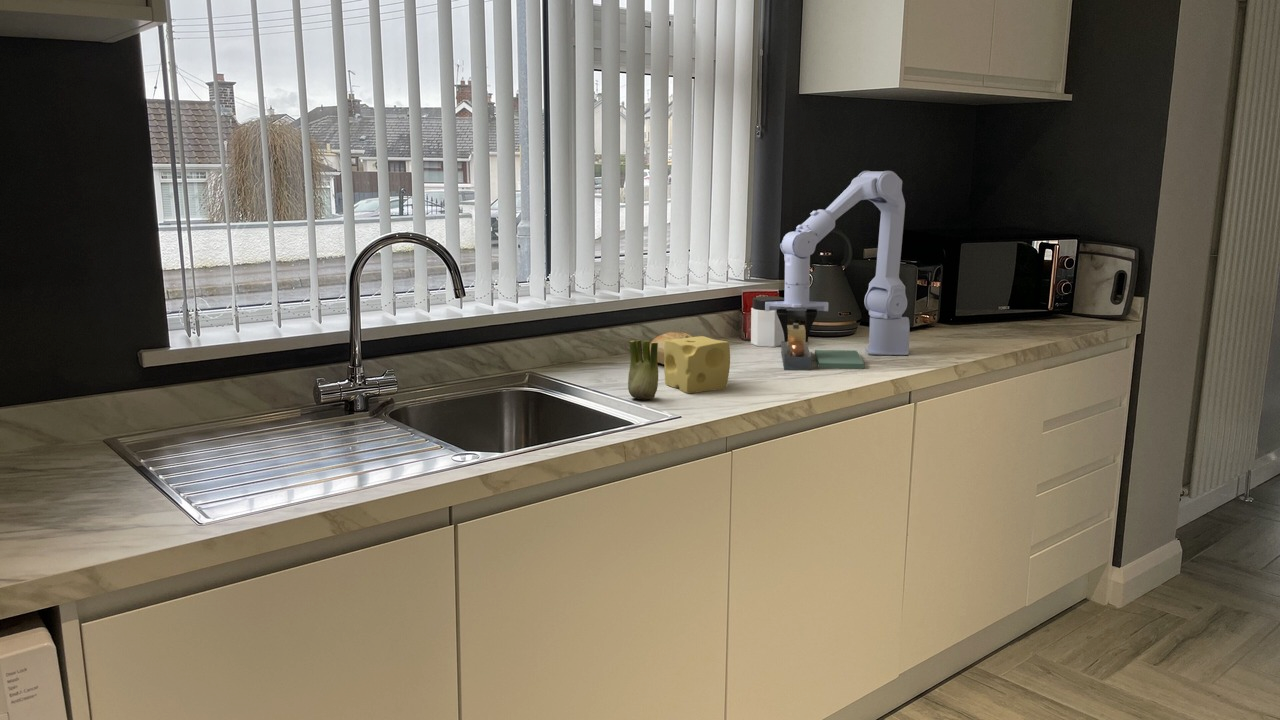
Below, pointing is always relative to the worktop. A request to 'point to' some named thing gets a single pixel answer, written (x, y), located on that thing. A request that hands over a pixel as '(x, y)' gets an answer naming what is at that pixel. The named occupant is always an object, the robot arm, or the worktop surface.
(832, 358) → the mat
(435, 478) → the worktop surface
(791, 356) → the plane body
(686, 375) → the cheese
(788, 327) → the tan block
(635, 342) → the fennel bulb
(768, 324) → the jar
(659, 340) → the bread roll
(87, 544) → the worktop surface
